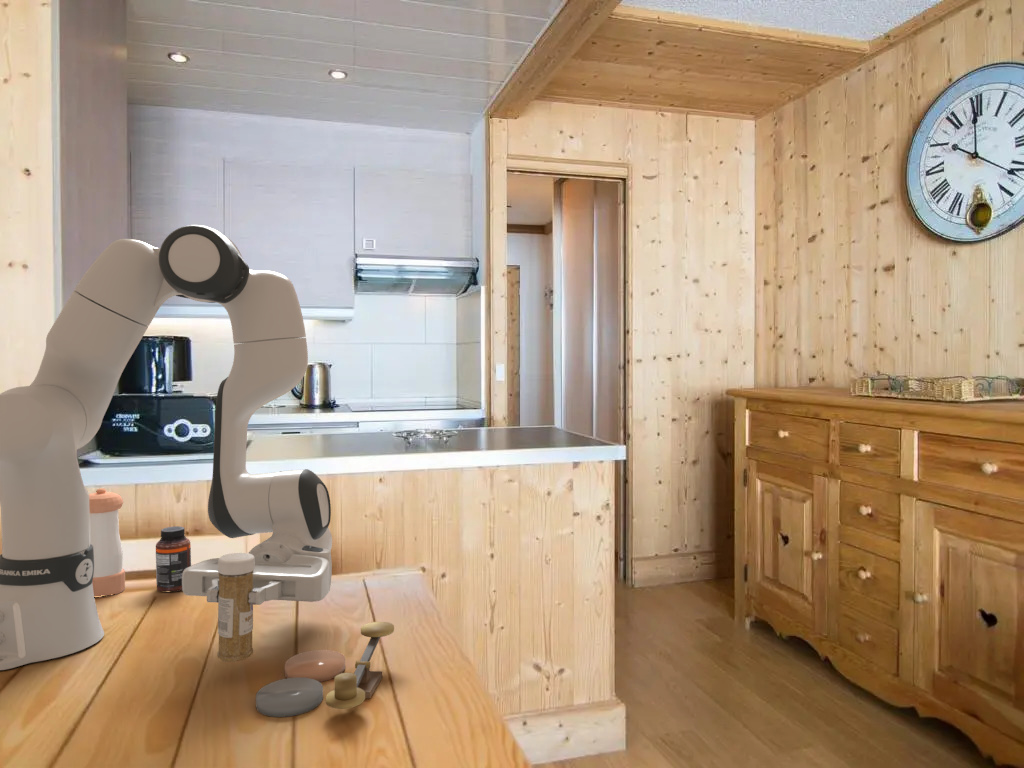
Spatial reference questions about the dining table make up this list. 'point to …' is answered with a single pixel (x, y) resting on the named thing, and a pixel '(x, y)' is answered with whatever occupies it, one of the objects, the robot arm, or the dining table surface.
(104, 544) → the pepper shaker
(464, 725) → the dining table surface
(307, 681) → the grey oval pebble
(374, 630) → the balance
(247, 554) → the spice jar
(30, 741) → the dining table surface
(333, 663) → the peach oval pebble
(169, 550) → the supplement bottle
